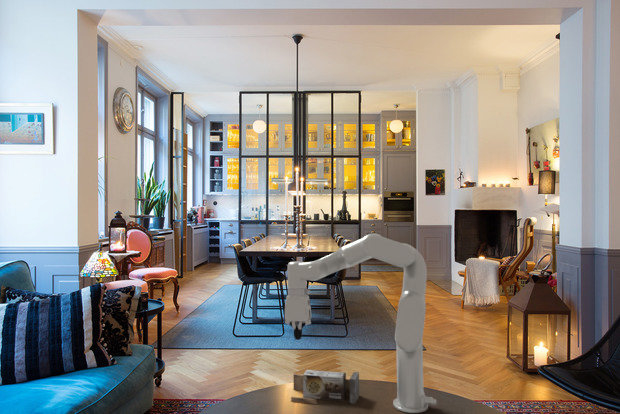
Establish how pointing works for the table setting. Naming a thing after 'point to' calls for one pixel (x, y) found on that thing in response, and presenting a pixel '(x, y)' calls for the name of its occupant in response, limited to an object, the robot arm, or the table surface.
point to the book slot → (351, 390)
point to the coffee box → (324, 385)
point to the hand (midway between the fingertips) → (298, 338)
